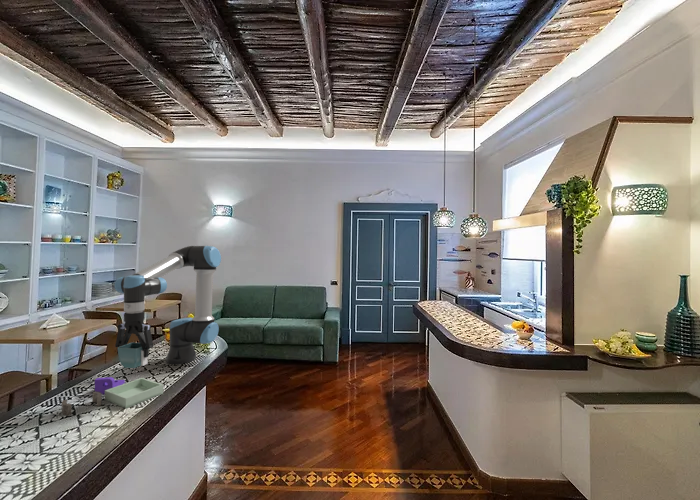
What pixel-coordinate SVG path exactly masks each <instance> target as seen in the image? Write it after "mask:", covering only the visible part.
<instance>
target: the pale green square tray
mask: <svg viewBox="0 0 700 500" xmlns="http://www.w3.org/2000/svg"><path fill="white" fill-rule="evenodd" d="M163 394H164V384H162V383H160V382H156V381H153V380H149V379H147V378H144V377H140V378H138V379H134V380H132V381H128V382H125V383H124V384H122V385H119V386H117V387H114V388H111V389H108V390H105V394H104V401H106V402H109V403H111V404H113V405H116V406H119V407H121V408H123V409H128V408H132V407H133V406H135V405H138V404H141V403H144V402H146V401H148V400H151V399H154V398H155V397H156V398H157V397H159V396H160V395H163Z"/></svg>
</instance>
